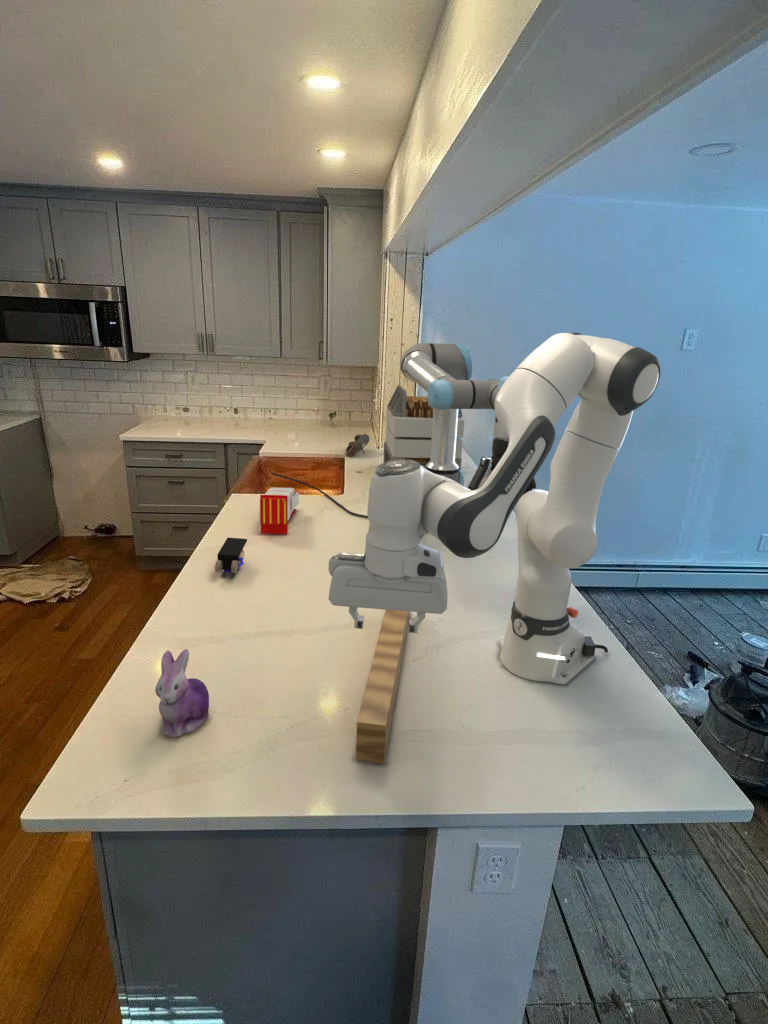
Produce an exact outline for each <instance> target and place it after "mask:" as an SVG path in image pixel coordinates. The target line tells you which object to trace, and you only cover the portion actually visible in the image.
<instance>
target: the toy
mask: <svg viewBox="0 0 768 1024" xmlns="http://www.w3.org/2000/svg"><path fill="white" fill-rule="evenodd" d="M299 494H300V493H299V491H297V492H296V493H295V488H294V487H270V488H269V489H268V490H267V491H266V492H265V493H264V494H259V520H260V521H259V524H260V534H266V535H272V534H273V535H288V534H289V532H288V531H289V530H288V527H289V524H288V523H289V522H288V521H289V519H290V518H292V517H293V516H294V514H295V513H296V511H297V506H298V505H299V503H300V496H299Z"/></svg>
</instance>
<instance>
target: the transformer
mask: <svg viewBox="0 0 768 1024" xmlns="http://www.w3.org/2000/svg"><path fill="white" fill-rule="evenodd" d="M407 394H408V393H407V390H406V389H404V388H403V387H402V385H399V384H398V385H397V386H396V388H395V390H394V392H393V394H392V395H391V398H390V400H389V402H388V404H387V405H386V413H385V414H386V415H385V423H386V428H385V438H384V442H383V463H385V462H387V461H390V460H396V459H409V460H414V461H416V462H418V463H420V465H421V466H422V467H425V465H426V464H427V463H428V462H429V461H430V454H431V437H432V420H433V408H432V407H431V406H430V405H429V402H428V396H415V395H414V396H413V395H412V396H411V395H407ZM464 429H465V419H464V418H463V411H462V409H459V412H458V426H457V439H456V453H455V463H456V464H457V465H458V466H459V470H460V471H461V472H462V461H463V460H462V453H463V442H464V441H463V440H462V439H463V438H464V431H465V430H464Z"/></svg>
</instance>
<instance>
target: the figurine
mask: <svg viewBox="0 0 768 1024" xmlns="http://www.w3.org/2000/svg"><path fill="white" fill-rule="evenodd" d="M189 658H190V649H187V648H184V649H183V650H182V651H181V652H180V654H179V655H178V656H177V657H176V659H175V658H174V656H173V652H171V651H170V650H167V649H166V651H165V652H163V654H162V657H161V663H160V665H161V668H160V669H161V674H160V676H159V678H158V680H157V682H156V684H155V688H154V689H155V694H156V696H157V697H158V698H159V703H158V712H159V714H160V716H161V720H162V727H161V733H162V734H163V735H164V736H168V737H171V738H179V737H181V736H183V735H184V734H191V733H192V732H194V731H196V730H197V729H199V728H201V726H203V725H204V724H205V723H207V721H208V718H209V709H210V695H209V690H208V687H207V685H206V684H205V683H204V682H203V681H202V680H200V679H198V678H195V677H194V678H191V677H190V678H187V676H186V673H185V672H186V669H187V665H188V662H189Z"/></svg>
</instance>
